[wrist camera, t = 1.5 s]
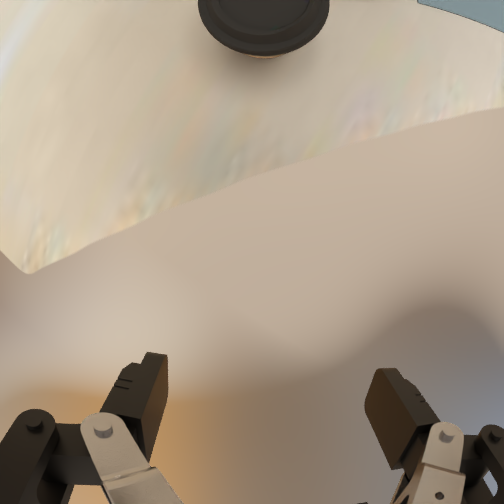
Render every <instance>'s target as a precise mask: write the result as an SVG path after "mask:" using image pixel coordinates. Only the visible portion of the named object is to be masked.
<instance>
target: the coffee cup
mask: <svg viewBox="0 0 504 504" xmlns="http://www.w3.org/2000/svg"><path fill="white" fill-rule="evenodd" d="M198 8H199V13H200V17H201V19H202V22H203V24H204V25H205V27H206V28H207V30H208V31H209V32H210V34H211V35H212V36H213V37H214V38H215V39H216V40H218V41H219V42H220V43H222V44H223V45H225V46H227V47H228V48H230V49H233V50H235V51H238V52H240V53H243V54H246V55H248V56H251V57H256V58H273V57H277V56H280V55H283V54H286V53H289V52H291V51H294V50H296V49H298V48H300V47H302V46H304V45H306V44H307V43H308V42H310V41H311V40H312V39H313V38H314V37H315V36H316V35H317V34H318V33H319V32H320V30H321V29H322V27H323V26H324V24H325V22H326V19H327V16H328V13H329V0H198Z"/></svg>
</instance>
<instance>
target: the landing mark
mask: <svg viewBox="0 0 504 504" xmlns="http://www.w3.org/2000/svg"><path fill="white" fill-rule="evenodd" d="M418 3H420V4H424V5H428V6H431V7H435V8H438V9H442V10H445V11H448V12H451V13H454V14H457V15H460V16H463V17H466V18H469V19H472V20H474V21H477V22H480V23H482V24H485V25H487V26H490V27H492V28H495V29H497V30H499V31H501V32H504V0H418Z"/></svg>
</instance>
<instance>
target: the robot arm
mask: <svg viewBox="0 0 504 504" xmlns="http://www.w3.org/2000/svg"><path fill="white" fill-rule="evenodd" d="M167 397H168V357H167V355H165V354H158V353H151V352H147V353H146V354H145V356H144V359H143V360H142V363H141V364H138V363H131V364H129V365H128V366H126V367H125V368H123V369H122V371H121V373H120V375H119V376H118V380H116V382H115V384H114V387H112V389H111V391H110V393H109V395H108V397H107V399H106V400H105V402H104V404H103V406H102V408H101V410H100V412H99V413H95V414H92V415H89V416H88V417H86V418H85V419H84V420H83V421H82V423H81V424H61V423H55V420H54V418H53V416H52V415H51V414H49V413H48V412H46V411H44V410H40V409H30V410H27V411H24V412H22V413H21V414H20V415H19V416H18V417H17V418H16V420H15V421H14V423H13V424H12V426H11V427H10V429H9V430H8V432H7V433H6V435H5V437H4V438H3V440H2V441H1V443H0V504H68V502H69V499H70V496H71V494H72V491H73V488H74V485H100V486H101V488H102V490H103V492H104V494H105V496H106V498H107V500H108V502H109V504H184V503H183V502H182V501H181V500H180V498H179V497H178V495H177V494H176V493H175V492H174V490H173V489H172V488H171V486H170V485H169V483H168V482H167V480H166V479H165V478H164V476H163V475H162V473H161V472H160V471H159V470H158V469H157V468H156V467H151V466H150V465H149V461H150V458H151V454H152V451H153V447H154V444H155V440H156V436H157V433H158V430H159V426H160V423H161V419H162V416H163V413H164V409H165V406H166V402H167ZM365 413H366V415H367V417H368V419H369V421H370V424H371V426H372V428H373V430H374V432H375V434H376V437H377V439H378V441H379V443H380V445H381V448H382V450H383V452H384V454H385V456H386V459H387V461H388V463H389V466H390V468H391V470H395V469H400V468H403V469H404V471H405V472H404V473H403V474H402V476H401V478H400V481H399V483H398V486H397V488H396V491H395V493H394V495H393V497H392V500H391V502H390V504H504V429H503V428H501V427H499V426H497V425H486V426H484V427H483V428H482V429H481V431H480V433H479V434H478V435H463V432H462V431H461V430H460V429H459V428H458V427H457V426H456V425H454V424H451V423H448V422H441V421H440V420H439V419H438V417H437V416H436V414H435V413H434V411H433V410H432V409H431V407H430V406H429V404H428V403H427V402H425V399H424V397H423V396H421V393H420V392H419V390H418V389H417V388H416V386H415V385H413V384H412V383H410V382H409V381H408V380H407V379H404V378H403V377H402V375H401V374H400V372H399V371H398V370H397V369H396V368H380V369H377V370H376V372H375V374H374V377H373V380H372V383H371V385H370V388H369V391H368V393H367V396H366V399H365ZM489 470H490V472H491V474H492V475H493V477H494V479H495V480H496V482H497V485H498V490H497V493H496V495H495V496H494V497H493V495H492V494H491V492H490V490H489V488H488V486H487V484H486V483H485V481H484V479H483V477H484V476H485V475H486V473H487V472H488V471H489ZM359 504H368V503H367V502H365V503H359Z"/></svg>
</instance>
